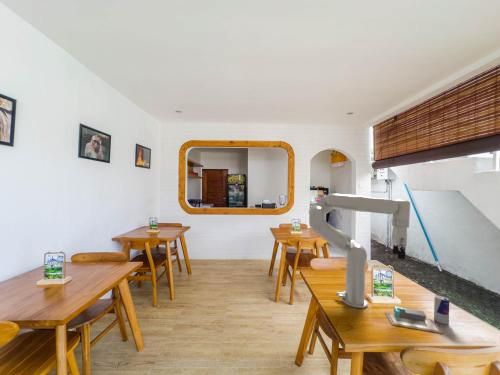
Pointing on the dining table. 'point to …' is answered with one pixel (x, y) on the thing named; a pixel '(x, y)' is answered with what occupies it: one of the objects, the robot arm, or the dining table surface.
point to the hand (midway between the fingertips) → (398, 256)
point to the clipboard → (414, 323)
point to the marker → (409, 314)
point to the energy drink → (441, 310)
